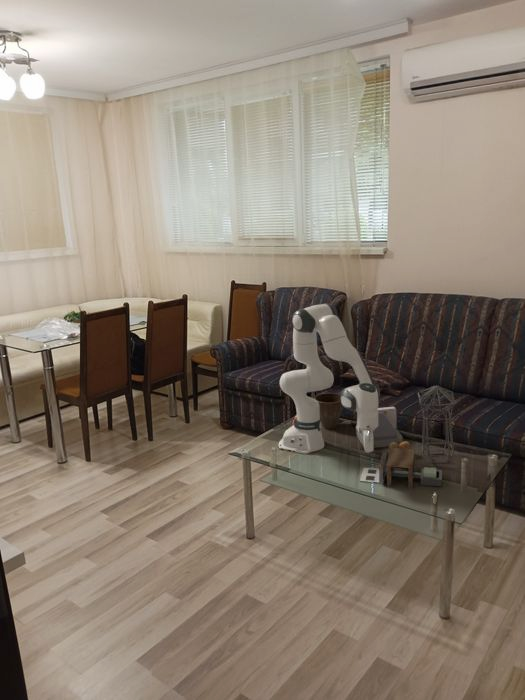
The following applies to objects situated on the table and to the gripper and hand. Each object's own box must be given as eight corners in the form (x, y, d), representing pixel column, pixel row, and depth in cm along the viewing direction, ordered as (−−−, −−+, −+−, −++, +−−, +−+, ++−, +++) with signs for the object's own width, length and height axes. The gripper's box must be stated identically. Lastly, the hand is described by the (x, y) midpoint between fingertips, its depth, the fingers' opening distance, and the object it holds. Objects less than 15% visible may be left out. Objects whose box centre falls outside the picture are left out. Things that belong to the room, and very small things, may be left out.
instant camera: (397, 430, 286) (397, 402, 282) (404, 448, 266) (404, 418, 262) (355, 431, 288) (354, 404, 284) (359, 449, 268) (358, 420, 264)
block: (423, 483, 233) (423, 472, 231) (423, 478, 237) (423, 467, 236) (435, 484, 231) (436, 473, 230) (436, 479, 236) (436, 468, 234)
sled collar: (379, 484, 234) (379, 467, 232) (383, 468, 247) (382, 452, 245) (441, 489, 226) (441, 472, 224) (441, 473, 239) (442, 457, 237)
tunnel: (387, 485, 233) (386, 462, 230) (390, 469, 246) (390, 447, 243) (412, 488, 230) (412, 464, 227) (414, 471, 243) (414, 449, 240)
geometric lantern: (457, 467, 244) (457, 391, 235) (420, 467, 247) (418, 392, 238) (453, 451, 259) (453, 379, 249) (418, 451, 262) (416, 380, 253)
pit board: (359, 481, 238) (359, 480, 237) (363, 468, 249) (363, 467, 248) (378, 483, 235) (378, 482, 235) (382, 470, 246) (382, 468, 246)
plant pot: (330, 418, 306) (329, 390, 302) (350, 426, 295) (349, 397, 290) (310, 426, 298) (308, 397, 294) (329, 434, 286) (328, 405, 282)
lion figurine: (395, 464, 251) (395, 445, 248) (386, 460, 255) (385, 442, 252) (415, 453, 260) (415, 435, 257) (405, 449, 264) (405, 432, 261)
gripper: (377, 432, 226) (377, 463, 230) (373, 411, 245) (373, 440, 249) (361, 432, 226) (361, 463, 231) (358, 411, 246) (359, 440, 250)
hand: (367, 451), depth 240 cm, fingers closed
